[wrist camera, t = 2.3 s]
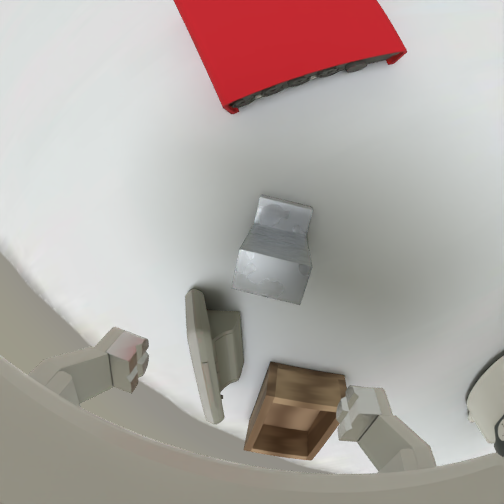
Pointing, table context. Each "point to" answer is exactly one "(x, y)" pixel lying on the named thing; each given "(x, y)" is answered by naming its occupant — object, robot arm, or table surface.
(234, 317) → the digital clock
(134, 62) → the table surface
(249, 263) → the bracket
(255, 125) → the table surface
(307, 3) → the red device housing
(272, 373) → the wooden box
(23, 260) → the table surface
